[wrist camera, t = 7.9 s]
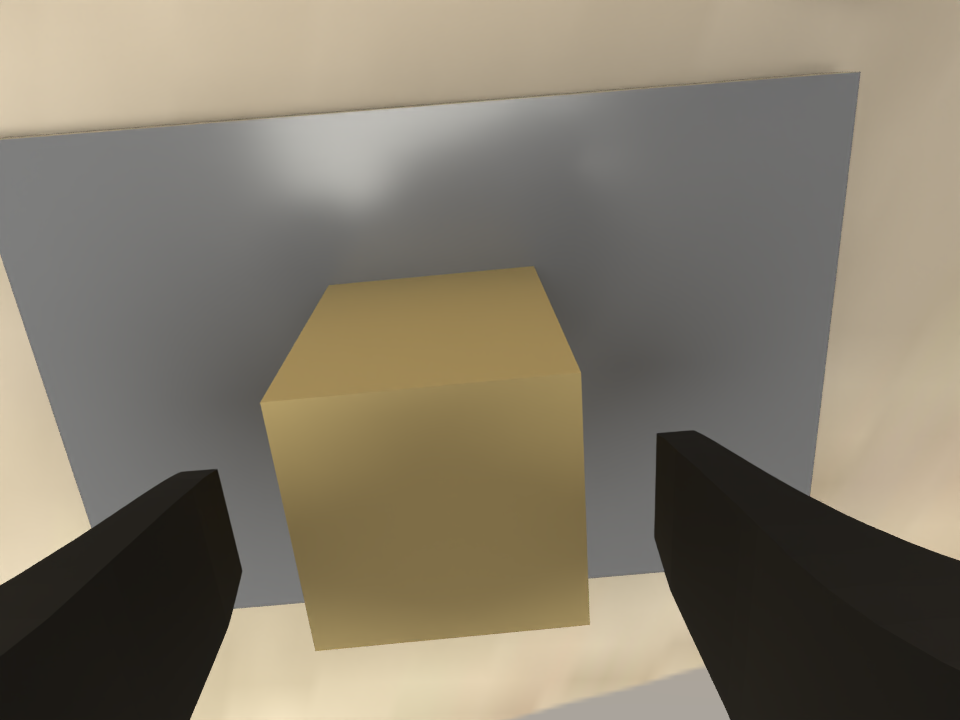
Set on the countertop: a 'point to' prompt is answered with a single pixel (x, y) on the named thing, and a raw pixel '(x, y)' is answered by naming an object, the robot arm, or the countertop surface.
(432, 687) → the countertop surface
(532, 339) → the ochre block
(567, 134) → the slate board
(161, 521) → the robot arm
